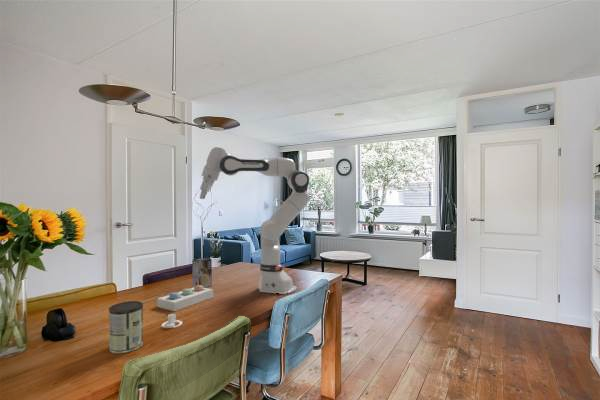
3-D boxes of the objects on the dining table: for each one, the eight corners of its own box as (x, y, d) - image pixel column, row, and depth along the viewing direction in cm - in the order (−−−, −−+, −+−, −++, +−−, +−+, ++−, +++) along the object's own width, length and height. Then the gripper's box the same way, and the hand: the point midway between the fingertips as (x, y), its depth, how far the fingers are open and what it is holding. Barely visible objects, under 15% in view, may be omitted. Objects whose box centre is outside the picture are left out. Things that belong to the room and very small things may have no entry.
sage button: (193, 295, 156) (193, 289, 156) (186, 297, 152) (186, 291, 152) (187, 294, 158) (187, 288, 158) (180, 296, 154) (180, 290, 154)
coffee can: (119, 339, 112) (119, 301, 112) (148, 339, 113) (148, 300, 113) (102, 354, 102) (102, 311, 102) (133, 353, 103) (134, 310, 103)
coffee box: (205, 284, 187) (205, 257, 187) (212, 286, 183) (212, 258, 183) (192, 287, 180) (192, 259, 180) (198, 289, 176) (198, 261, 176)
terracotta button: (204, 291, 162) (204, 285, 162) (198, 293, 158) (198, 287, 158) (198, 290, 164) (198, 284, 164) (192, 292, 161) (192, 286, 161)
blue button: (180, 299, 149) (180, 293, 149) (173, 301, 145) (173, 295, 145) (174, 298, 151) (174, 291, 151) (167, 300, 147) (167, 294, 147)
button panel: (197, 293, 168) (197, 286, 168) (213, 297, 162) (213, 289, 162) (157, 306, 147) (157, 298, 147) (174, 311, 141) (174, 302, 141)
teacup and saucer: (171, 331, 121) (171, 320, 121) (155, 328, 124) (155, 318, 124) (186, 322, 129) (186, 313, 129) (171, 320, 132) (171, 310, 132)
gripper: (214, 175, 163) (205, 200, 163) (216, 178, 183) (208, 200, 183) (202, 171, 162) (193, 196, 161) (206, 174, 182) (198, 196, 181)
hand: (201, 198), depth 172 cm, fingers open, 8 cm apart
